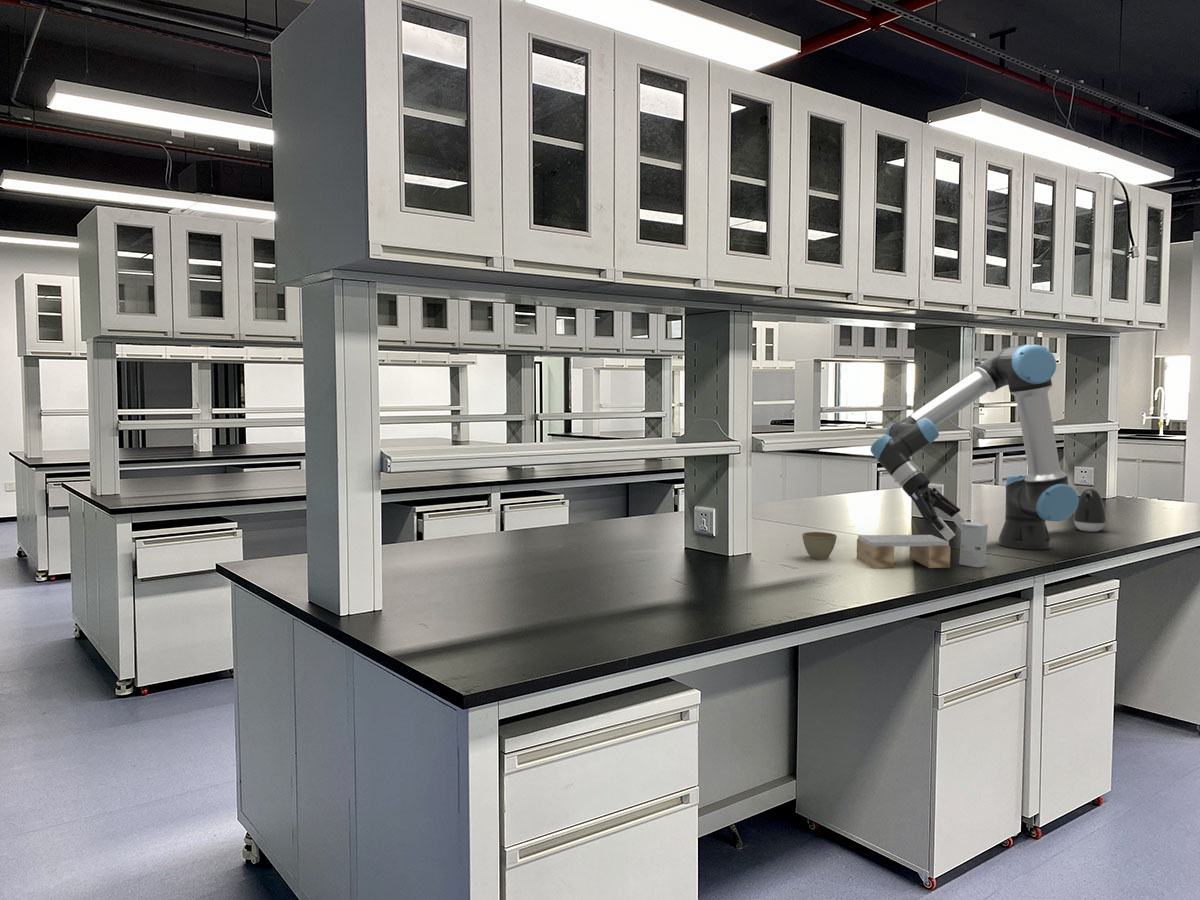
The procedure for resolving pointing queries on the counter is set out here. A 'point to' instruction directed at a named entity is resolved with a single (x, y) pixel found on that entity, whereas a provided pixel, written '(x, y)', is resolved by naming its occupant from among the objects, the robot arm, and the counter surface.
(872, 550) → the oak blocks
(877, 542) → the bridge plate
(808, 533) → the flower pot
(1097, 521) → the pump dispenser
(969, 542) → the skincare box
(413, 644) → the counter surface
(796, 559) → the counter surface
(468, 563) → the counter surface
